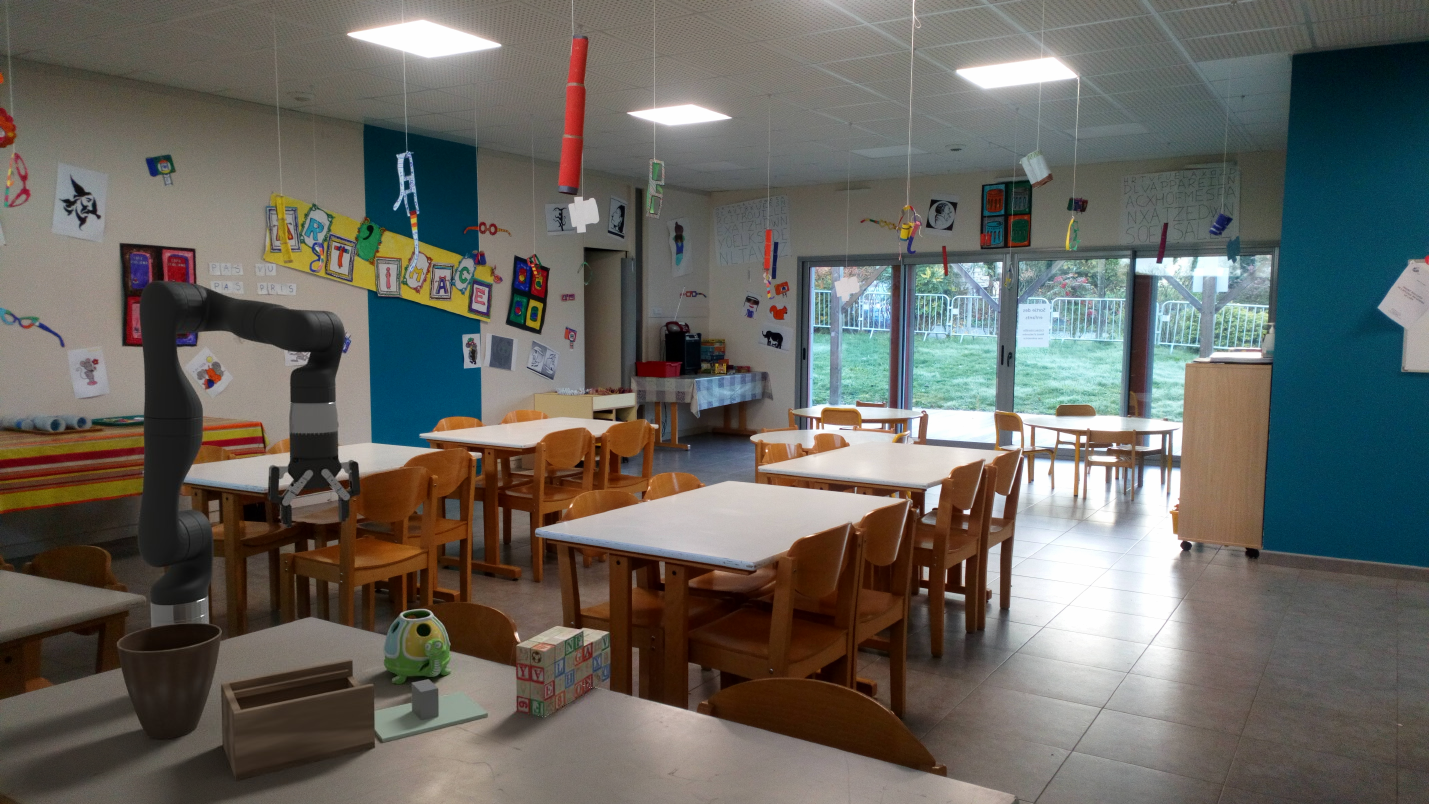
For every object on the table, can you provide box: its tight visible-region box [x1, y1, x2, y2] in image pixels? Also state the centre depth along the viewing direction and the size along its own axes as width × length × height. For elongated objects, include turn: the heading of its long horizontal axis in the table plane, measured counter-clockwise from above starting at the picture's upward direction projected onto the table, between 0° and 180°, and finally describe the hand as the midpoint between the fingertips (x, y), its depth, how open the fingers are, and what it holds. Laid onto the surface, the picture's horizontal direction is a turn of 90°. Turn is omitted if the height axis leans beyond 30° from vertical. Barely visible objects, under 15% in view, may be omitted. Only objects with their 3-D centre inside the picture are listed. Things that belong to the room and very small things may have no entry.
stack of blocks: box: [515, 625, 611, 718], centre depth 170 cm, size 21×6×12 cm, turn 154°
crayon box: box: [220, 658, 376, 781], centre depth 147 cm, size 15×20×10 cm
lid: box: [374, 678, 489, 743], centre depth 159 cm, size 12×18×6 cm, turn 126°
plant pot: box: [116, 623, 222, 740], centre depth 152 cm, size 15×15×16 cm
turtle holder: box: [383, 608, 452, 685], centre depth 177 cm, size 12×18×12 cm
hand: (315, 523), depth 155 cm, fingers open, 8 cm apart
